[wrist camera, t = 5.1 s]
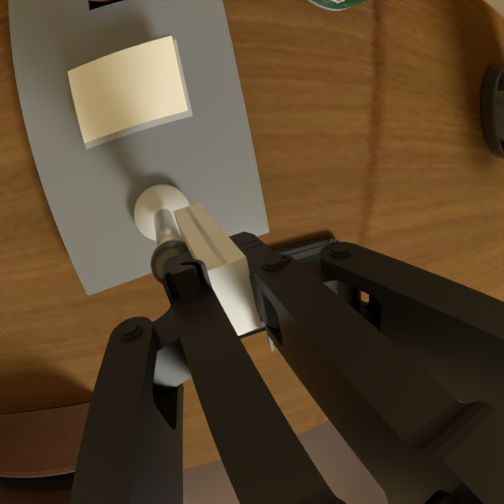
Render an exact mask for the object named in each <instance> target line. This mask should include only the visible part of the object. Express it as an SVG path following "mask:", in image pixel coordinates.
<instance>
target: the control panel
mask: <svg viewBox="0 0 504 504" xmlns="http://www.w3.org/2000/svg"><path fill="white" fill-rule="evenodd" d="M8 10H9V26H10V38H11V48H12V56H13V64H14V70H15V77H16V83H17V88H18V94H19V99H20V104H21V109H22V113H23V118H24V122H25V126H26V130H27V134H28V138H29V142H30V146H31V150H32V153H33V157H34V160H35V164H36V167H37V170H38V173H39V177H40V180H41V183H42V186H43V189H44V192H45V195H46V198H47V200H48V203H49V206H50V209H51V212H52V214H53V217H54V220H55V222H56V225H57V227H58V230H59V232H60V235H61V237H62V240H63V242H64V245H65V247H66V249H67V252H68V254H69V256H70V259H71V261H72V263H73V265H74V267H75V270H76V272H77V274H78V276H79V278H80V280H81V283H82V285H83V287H84V289H85V291H86V293H87V295H88V296H89V295H92V294H94V293H97V292H100V291H103V290H105V289H108V288H111V287H114V286H117V285H119V284H122V283H125V282H128V281H131V280H133V279H136V278H139V277H142V276H145V275H148V274H150V273H152V271H151V257H152V254H153V252H154V250H155V249H156V248H157V241H156V233H155V225H154V215H155V213H156V212H157V211H158V210H160V209H168V210H170V211H171V212H172V214H173V217H174V220H175V216H174V213H173V211H175V210H178V209H181V208H184V207H187V206H190V205H193V204H196V203H199V204H200V205H201V206H202V207H203V208H204V209H205V210H206V212H207V213H208V214H209V215H210V216H211V217H212V219H213V220H214V221H215V222H216V223H217V224H218V225H219V227H220V228H221V229H222V230H223V231H224V232H225V233H226V235H227V236H228V237H229V236H232V235H235V234H238V233H241V232H244V231H245V232H248V233H252V234H254V235H255V236H256V237H257V236H260V235H263V234H266V233H268V232H269V227H268V222H267V216H266V211H265V206H264V200H263V195H262V190H261V185H260V179H259V174H258V169H257V164H256V159H255V154H254V148H253V143H252V138H251V133H250V128H249V123H248V118H247V113H246V109H245V104H244V99H243V94H242V89H241V84H240V79H239V75H238V70H237V65H236V60H235V56H234V51H233V46H232V42H231V37H230V33H229V28H228V24H227V19H226V15H225V10H224V6H223V1H222V0H124V1H120V2H116V3H113V4H109V5H106V6H102V7H99V8H96V9H91V2H90V0H8ZM168 36H172V38H173V41H174V45H175V50H176V55H177V59H178V64H179V69H180V73H181V78H182V82H183V87H184V91H185V96H186V100H187V105H188V109H189V111H185V112H181V113H177V114H173V115H170V116H166V117H163V118H159V119H156V120H152V121H149V122H145V123H142V124H139V125H136V126H133V127H129V128H126V129H123V130H120V131H117V132H114V133H112V134H109V135H106V136H103V137H100V138H97V139H95V140H92V141H89V142H87V143H84V141H83V137H82V133H81V130H80V126H79V122H78V118H77V114H76V109H75V105H74V101H73V96H72V92H71V87H70V82H69V77H68V71H70V70H72V69H75V68H77V67H79V66H82V65H84V64H86V63H89V62H91V61H94V60H96V59H99V58H102V57H104V56H107V55H110V54H113V53H115V52H118V51H121V50H124V49H127V48H130V47H133V46H137V45H140V44H143V43H146V42H150V41H153V40H157V39H160V38H164V37H168ZM175 223H176V220H175ZM176 226H177V223H176ZM177 229H178V226H177ZM178 232H179V230H178ZM179 235H180V233H179ZM180 238H181V236H180ZM181 241H182V239H181Z"/></svg>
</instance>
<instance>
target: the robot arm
mask: <svg viewBox="0 0 504 504" xmlns="http://www.w3.org/2000/svg"><path fill="white" fill-rule="evenodd" d="M481 111H482V122H483V129H484V134H485V138H486V141H487V144H488V147H489V149H490V151H491V152H492V153H493V155H494V156H496V157H498V158H501V159H504V66H497V65H494V66H491V67H490V68H489V69H488V71H487V72H486V75H485V78H484V81H483V86H482V96H481ZM173 213H174V216H175V220H176V223H177V226H178V230H179V233H180V236H181V239H182V241H183V242H185V243H186V245H187V247H188V250H189V251H188V252H185V253H182V254H180V255H177V256H174V257H171V258H168V259H166V260H165V262H164V264H163V266H162V267H163V271H164V272H163V273H162V274H161V281H162V283H163V286H164V289H165V291H166V294H167V296H168V299H169V301H170V304H171V306H170V308H169V309H168V311H167V312H166V313H165V314H164V315H163V316H161V317H160V318H158V319H157V320H155V321H154V322H151V321H150V319H149V318H146V317H133V318H130V319H127V320H125V321H123V322H121V323H120V324H119V325H118V326H117V327H116V328H114V330H113V332H112V333H111V335H110V338H109V341H108V344H107V348H106V351H105V354H104V357H103V360H102V364H101V367H100V370H99V374H98V377H97V381H96V384H95V388H94V392H93V395H92V399H91V403H90V407H89V411H88V415H87V419H86V423H85V427H84V431H83V436H82V440H81V445H80V449H79V454H78V459H77V464H76V469H75V474H74V480H73V486H72V492H71V498H70V504H183V392H184V388H183V382H184V381H186V380H187V379H188V378H190V377H191V376H192V379H193V382H194V385H195V388H196V391H197V394H198V397H199V400H200V403H201V405H202V408H203V411H204V414H205V417H206V420H207V422H208V425H209V428H210V431H211V433H212V436H213V439H214V441H215V444H216V447H217V449H218V452H219V454H220V457H221V459H222V462H223V464H224V467H225V469H226V472H227V474H228V477H229V479H230V481H231V484H232V486H233V488H234V491H235V493H236V495H237V498H238V500H239V502H240V504H346V503H345V502H344V501H342V500H340V499H339V498H337V497H336V496H335V495H334V493H333V492H332V491H331V489H330V488H329V486H328V485H327V483H326V482H325V481H324V479H323V477H322V476H321V474H320V473H319V471H318V470H317V468H316V466H315V465H314V463H313V462H312V460H311V459H310V457H309V455H308V454H307V452H306V451H305V449H304V447H303V446H302V444H301V443H300V441H299V439H298V438H297V436H296V434H295V433H294V431H293V430H292V428H291V426H290V425H289V423H288V421H287V420H286V418H285V416H284V415H283V413H282V411H281V410H280V408H279V406H278V405H277V403H276V401H275V400H274V398H273V396H272V394H271V393H270V391H269V389H268V388H267V386H266V384H265V382H264V381H263V379H262V377H261V375H260V374H259V372H258V370H257V368H256V367H255V365H254V363H253V361H252V360H251V358H250V356H249V354H248V353H247V351H246V349H245V347H244V345H243V344H242V342H241V340H240V338H239V336H240V335H242V334H245V333H247V332H249V331H252V330H254V329H257V328H259V327H262V325H261V321H260V316H261V318H262V319H263V321H264V322H265V327H266V331H267V336H268V340H269V345H270V348H271V351H273V350H274V345H275V346H276V347H277V349H278V350H279V352H280V353H281V354H282V356H283V357H284V359H285V360H286V361H287V363H288V364H289V366H290V367H291V368H292V370H293V371H294V372H295V374H296V375H297V377H298V378H299V379H300V381H301V382H302V384H303V385H304V386H305V388H306V389H307V390H308V392H309V393H310V394H311V396H312V397H313V399H314V400H315V401H316V403H317V404H318V405H319V407H320V408H321V409H322V411H323V412H324V413H325V415H326V416H327V417H328V419H329V420H330V421H331V423H332V424H333V425H334V427H335V428H336V429H337V431H338V432H339V433H340V435H341V436H342V437H343V439H344V440H345V441H346V442H347V444H348V445H349V447H350V448H351V449H352V450H353V452H354V453H355V454H356V456H357V457H358V458H359V460H360V461H361V462H362V463H363V465H364V466H365V467H366V469H367V470H368V471H369V472H370V474H371V475H372V476H373V477H374V479H375V480H376V481H377V483H378V484H379V485H380V486H381V488H382V489H383V490H384V492H385V494H386V496H387V500H388V504H504V302H503V301H500V300H498V299H496V298H493V297H491V296H488V295H486V294H484V293H481V292H479V291H476V290H474V289H471V288H469V287H466V286H464V285H461V284H459V283H456V282H454V281H451V280H449V279H446V278H444V277H441V276H439V275H436V274H434V273H431V272H428V271H426V270H423V269H421V268H418V267H415V266H413V265H410V264H407V263H405V262H402V261H400V260H397V259H394V258H391V257H389V256H386V255H383V254H381V253H378V252H375V251H372V250H370V249H367V248H364V247H361V246H359V245H356V244H353V243H348V242H336V243H335V242H334V243H331V244H329V245H326V246H324V247H323V248H322V249H321V250H320V253H319V256H320V260H317V261H312V262H306V263H299V262H298V261H297V260H295V259H294V258H293V257H291V256H289V255H286V254H275V253H274V252H273V251H272V250H271V249H270V248H269V247H267V246H266V245H265V244H264V243H263V242H262V241H261V240H259V238H258V237H256V236H255V235H254V234H252V233H248V232H245V231H244V232H241V233H238V234H235V235H232V236H229V237H228V236H227V235H226V233H225V232H224V231H223V230H222V229H221V228H220V227H219V225H218V224H217V223H216V222H215V221H214V220H213V219H212V217H211V216H210V215H209V214H208V213H207V212H206V210H205V209H204V208H203V207H202V206H201V205H200V204H199V203H196V204H193V205H190V206H187V207H184V208H181V209H178V210H175V211H173ZM361 291H363V292H365V293H367V294H369V302H368V303H367V302H364V301H362V300H361ZM259 315H260V316H259ZM458 400H459V401H458ZM460 401H461V402H462V403H461V402H460Z"/></svg>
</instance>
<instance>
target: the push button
mask: <svg viewBox="0 0 504 504" xmlns="http://www.w3.org/2000/svg"><path fill="white" fill-rule="evenodd" d="M90 1H102V2H111V1H114V0H90Z"/></svg>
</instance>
